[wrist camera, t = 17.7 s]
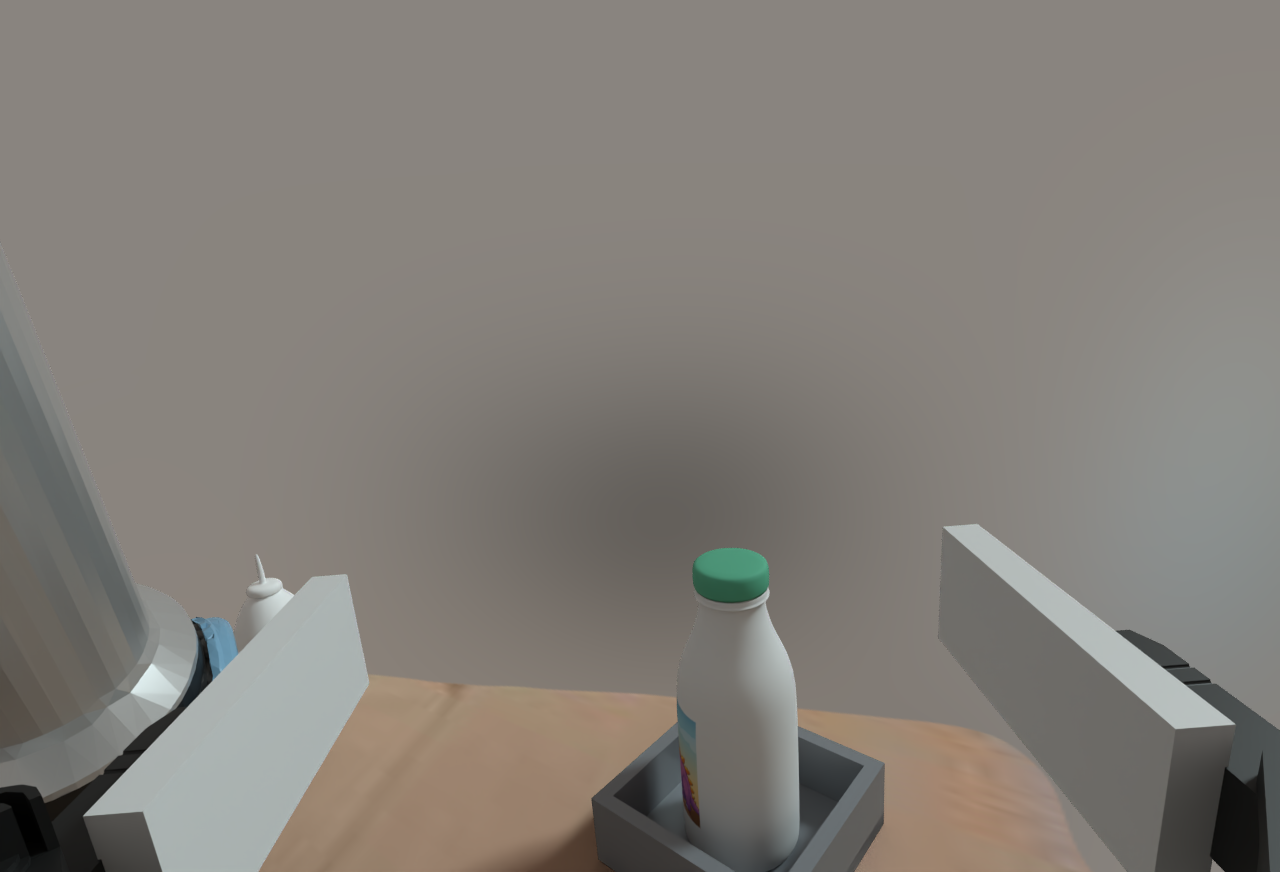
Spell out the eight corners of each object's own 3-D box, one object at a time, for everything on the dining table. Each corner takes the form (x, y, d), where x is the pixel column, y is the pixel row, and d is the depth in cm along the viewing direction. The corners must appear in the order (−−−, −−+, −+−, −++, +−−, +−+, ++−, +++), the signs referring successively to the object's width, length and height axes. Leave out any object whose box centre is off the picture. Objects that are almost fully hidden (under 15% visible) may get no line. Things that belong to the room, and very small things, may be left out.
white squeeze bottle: (366, 725, 63) (328, 541, 58) (288, 784, 56) (238, 583, 51) (311, 703, 66) (271, 530, 62) (232, 756, 60) (180, 567, 55)
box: (598, 859, 47) (591, 798, 45) (716, 742, 57) (713, 690, 56) (781, 990, 38) (779, 918, 36) (883, 823, 48) (884, 763, 46)
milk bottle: (814, 810, 48) (812, 545, 43) (776, 899, 42) (767, 602, 37) (714, 774, 52) (700, 528, 47) (665, 851, 46) (643, 577, 41)
